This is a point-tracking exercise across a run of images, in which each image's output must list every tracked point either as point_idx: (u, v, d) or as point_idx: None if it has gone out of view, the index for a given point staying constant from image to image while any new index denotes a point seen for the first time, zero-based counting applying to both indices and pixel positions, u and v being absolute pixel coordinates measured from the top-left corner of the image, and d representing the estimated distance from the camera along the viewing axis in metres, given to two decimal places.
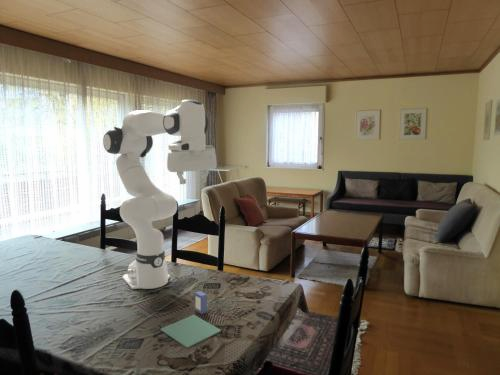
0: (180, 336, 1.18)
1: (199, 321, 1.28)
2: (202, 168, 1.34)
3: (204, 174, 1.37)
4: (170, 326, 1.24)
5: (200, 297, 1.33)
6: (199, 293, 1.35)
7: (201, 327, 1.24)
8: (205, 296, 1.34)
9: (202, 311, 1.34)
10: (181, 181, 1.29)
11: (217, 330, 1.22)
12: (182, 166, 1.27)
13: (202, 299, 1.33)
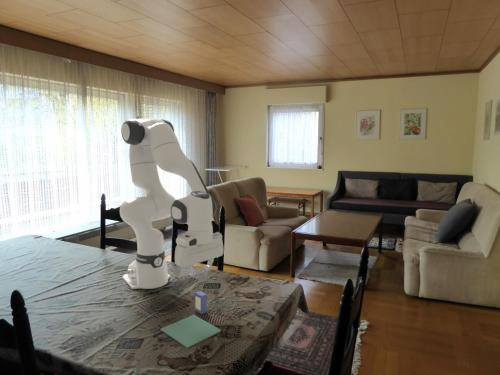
0: (180, 336, 1.18)
1: (199, 321, 1.28)
2: (209, 258, 1.34)
3: (209, 262, 1.37)
4: (170, 326, 1.24)
5: (200, 297, 1.33)
6: (199, 293, 1.35)
7: (201, 327, 1.24)
8: (205, 296, 1.34)
9: (202, 311, 1.34)
10: (191, 273, 1.31)
11: (217, 330, 1.22)
12: (190, 260, 1.27)
13: (202, 299, 1.33)
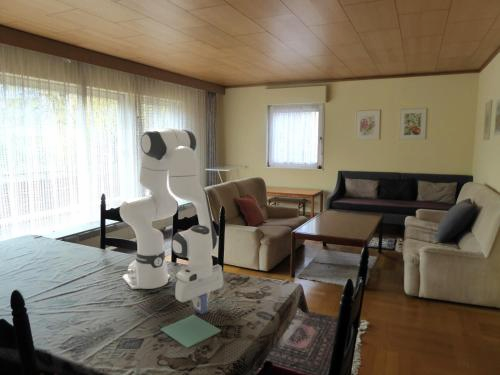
0: (180, 336, 1.18)
1: (199, 321, 1.28)
2: (209, 290, 1.36)
3: None
4: (170, 326, 1.24)
5: (200, 297, 1.33)
6: None
7: (201, 327, 1.24)
8: (205, 296, 1.34)
9: (202, 311, 1.34)
10: (195, 305, 1.34)
11: (217, 330, 1.22)
12: (190, 295, 1.29)
13: (202, 299, 1.33)
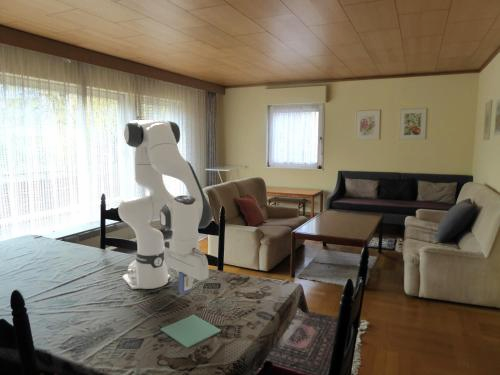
0: (180, 336, 1.18)
1: (199, 321, 1.28)
2: (186, 273, 1.18)
3: None
4: (170, 326, 1.24)
5: None
6: None
7: (201, 327, 1.24)
8: (181, 275, 1.19)
9: (179, 290, 1.21)
10: None
11: (217, 330, 1.22)
12: (170, 263, 1.24)
13: (179, 276, 1.20)
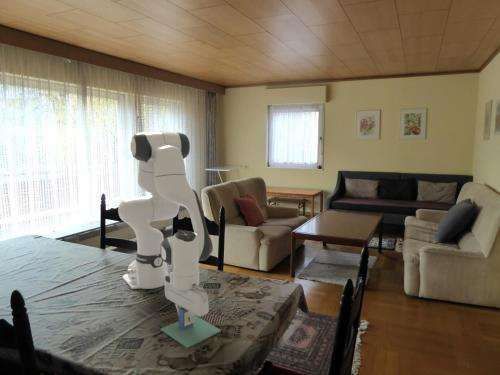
0: (180, 336, 1.18)
1: (199, 321, 1.28)
2: (186, 308, 1.20)
3: None
4: (170, 326, 1.24)
5: None
6: None
7: (201, 327, 1.24)
8: (181, 312, 1.21)
9: (179, 325, 1.23)
10: None
11: (217, 330, 1.22)
12: (171, 296, 1.26)
13: (179, 312, 1.22)
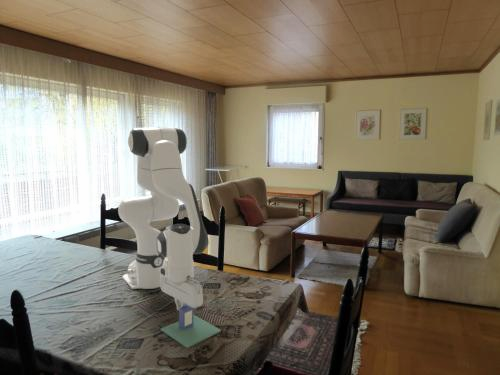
0: (180, 336, 1.18)
1: (199, 321, 1.28)
2: (181, 300, 1.21)
3: None
4: (170, 326, 1.24)
5: None
6: (186, 307, 1.23)
7: (201, 327, 1.24)
8: (182, 312, 1.21)
9: (179, 325, 1.23)
10: None
11: (217, 330, 1.22)
12: (166, 289, 1.27)
13: (179, 312, 1.22)
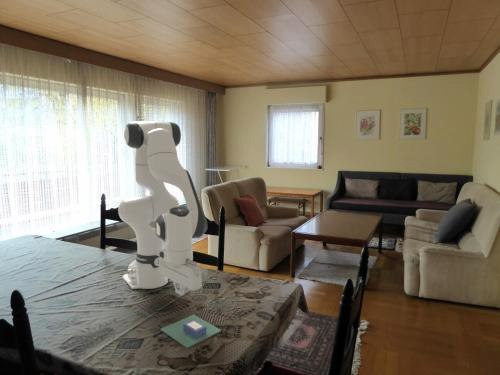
0: (180, 336, 1.18)
1: (199, 321, 1.28)
2: (180, 283, 1.21)
3: None
4: (170, 326, 1.24)
5: (196, 330, 1.18)
6: (201, 331, 1.18)
7: None
8: (194, 336, 1.17)
9: (184, 325, 1.21)
10: None
11: (217, 330, 1.22)
12: (165, 272, 1.27)
13: (193, 331, 1.18)
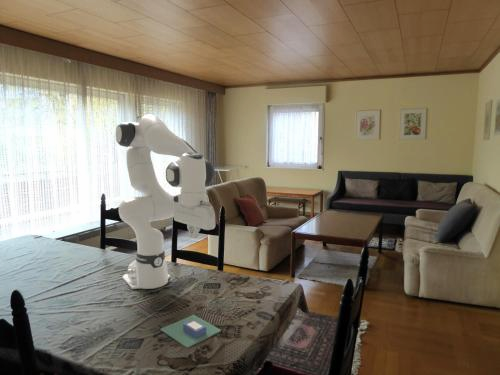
0: (180, 336, 1.18)
1: (199, 321, 1.28)
2: (194, 225, 1.26)
3: None
4: (170, 326, 1.24)
5: (196, 330, 1.18)
6: (201, 331, 1.18)
7: None
8: (194, 336, 1.17)
9: (184, 325, 1.21)
10: None
11: (217, 330, 1.22)
12: (179, 217, 1.32)
13: (193, 331, 1.18)
